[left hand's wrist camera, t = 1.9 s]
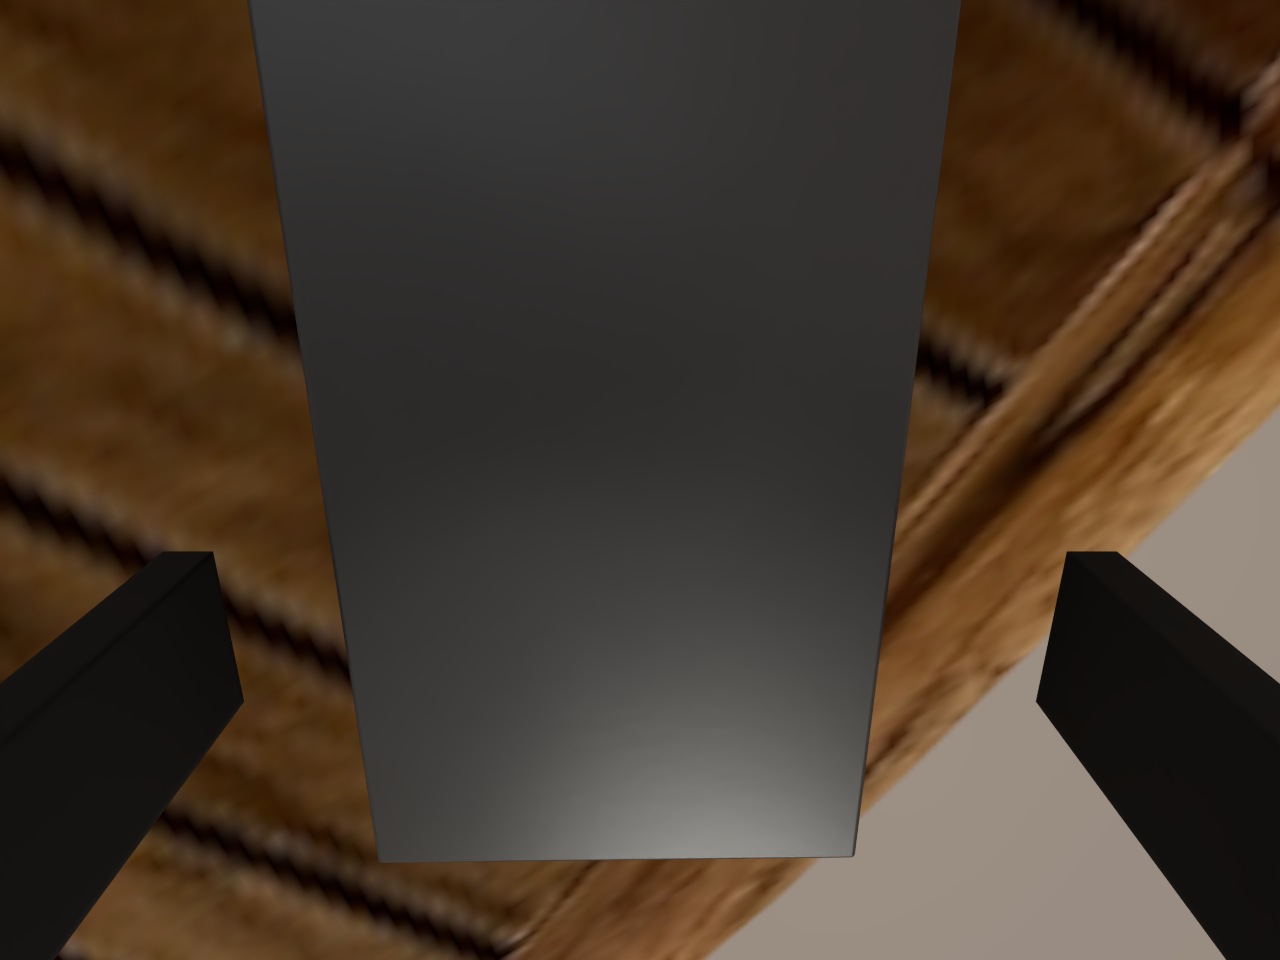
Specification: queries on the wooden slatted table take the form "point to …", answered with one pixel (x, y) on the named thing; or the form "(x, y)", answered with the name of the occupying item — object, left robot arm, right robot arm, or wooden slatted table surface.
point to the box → (609, 401)
